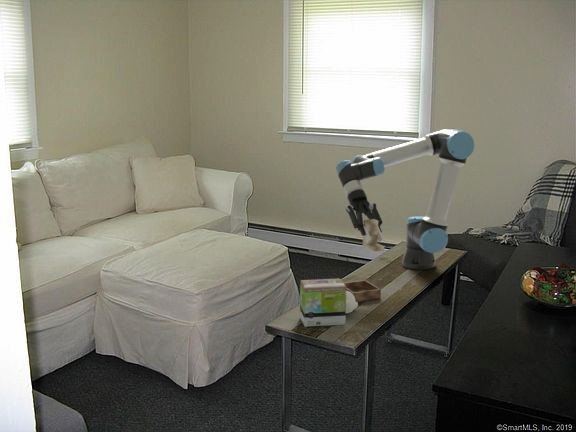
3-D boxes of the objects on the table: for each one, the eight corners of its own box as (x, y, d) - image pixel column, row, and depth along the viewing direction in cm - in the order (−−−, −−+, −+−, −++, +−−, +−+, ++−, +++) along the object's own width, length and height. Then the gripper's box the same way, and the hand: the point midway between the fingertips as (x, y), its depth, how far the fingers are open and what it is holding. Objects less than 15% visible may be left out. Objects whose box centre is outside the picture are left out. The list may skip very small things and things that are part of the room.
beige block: (373, 245, 268) (374, 219, 266) (384, 250, 261) (385, 223, 259) (362, 246, 266) (363, 220, 264) (373, 251, 259) (374, 224, 257)
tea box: (304, 328, 231) (304, 288, 228) (299, 318, 241) (299, 279, 238) (346, 325, 234) (346, 285, 230) (339, 315, 243) (339, 277, 240)
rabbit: (330, 316, 242) (330, 285, 240) (322, 308, 251) (322, 278, 248) (361, 312, 246) (361, 282, 243) (351, 304, 254) (351, 275, 252)
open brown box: (365, 289, 272) (365, 280, 271) (380, 298, 260) (380, 289, 260) (338, 292, 268) (338, 283, 267) (353, 302, 256) (353, 293, 255)
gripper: (370, 197, 280) (390, 243, 269) (333, 200, 272) (352, 248, 261) (377, 187, 274) (398, 234, 263) (339, 189, 266) (359, 238, 255)
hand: (375, 241), depth 262 cm, fingers closed on beige block, 5 cm apart
